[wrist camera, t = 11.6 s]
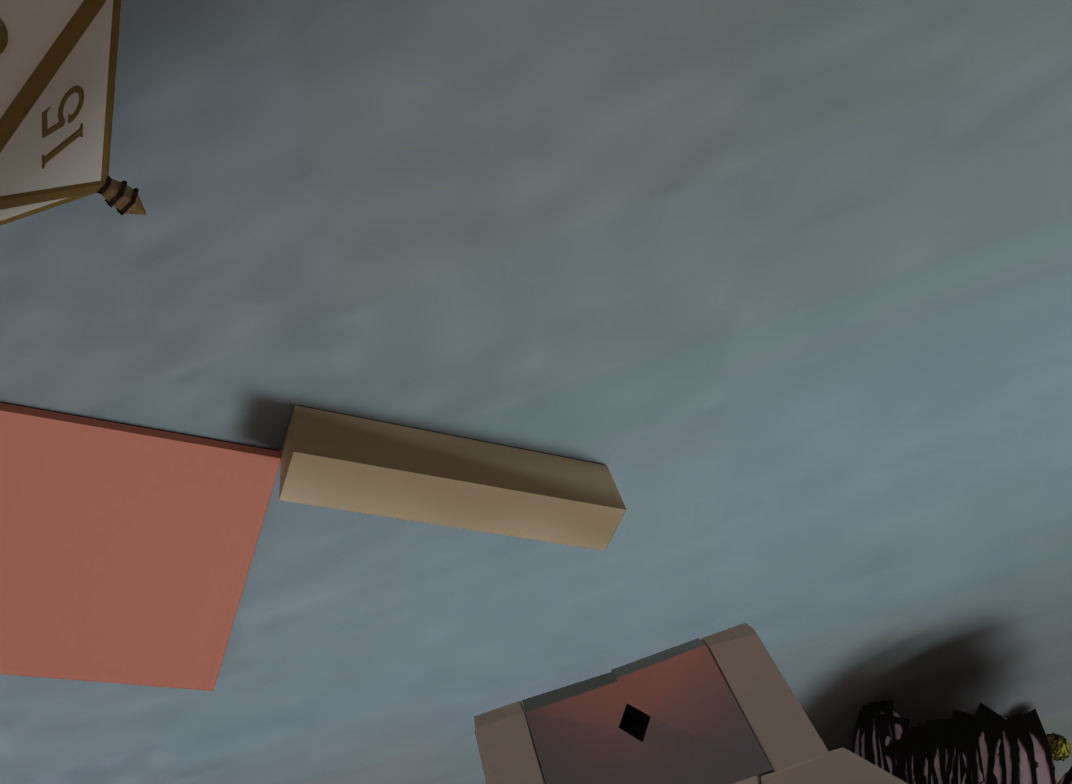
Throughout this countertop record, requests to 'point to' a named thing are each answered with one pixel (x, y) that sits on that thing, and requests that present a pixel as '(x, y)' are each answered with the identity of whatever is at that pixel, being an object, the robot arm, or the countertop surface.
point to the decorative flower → (960, 747)
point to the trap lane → (446, 480)
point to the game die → (58, 105)
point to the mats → (123, 548)
